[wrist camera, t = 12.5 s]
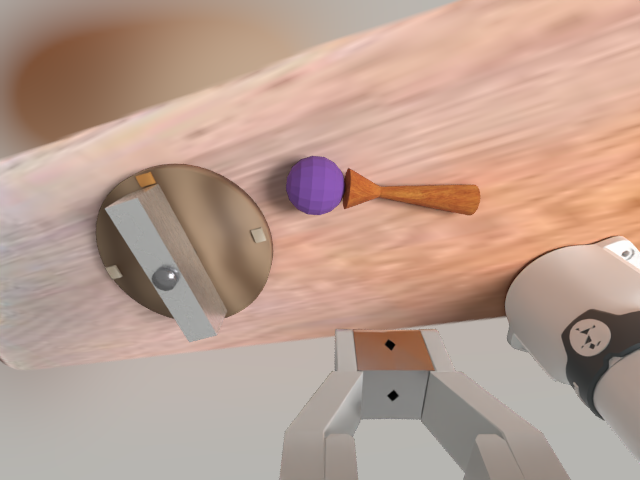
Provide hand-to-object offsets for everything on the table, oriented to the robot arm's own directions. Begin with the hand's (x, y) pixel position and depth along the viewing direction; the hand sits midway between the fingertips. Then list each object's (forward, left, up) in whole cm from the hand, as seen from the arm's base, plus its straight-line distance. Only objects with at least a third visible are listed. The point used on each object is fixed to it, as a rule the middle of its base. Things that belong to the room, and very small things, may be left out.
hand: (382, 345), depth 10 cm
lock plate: (+10, +19, -29) cm, 36 cm away
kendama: (-6, +1, -30) cm, 30 cm away
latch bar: (+10, +19, -26) cm, 34 cm away
